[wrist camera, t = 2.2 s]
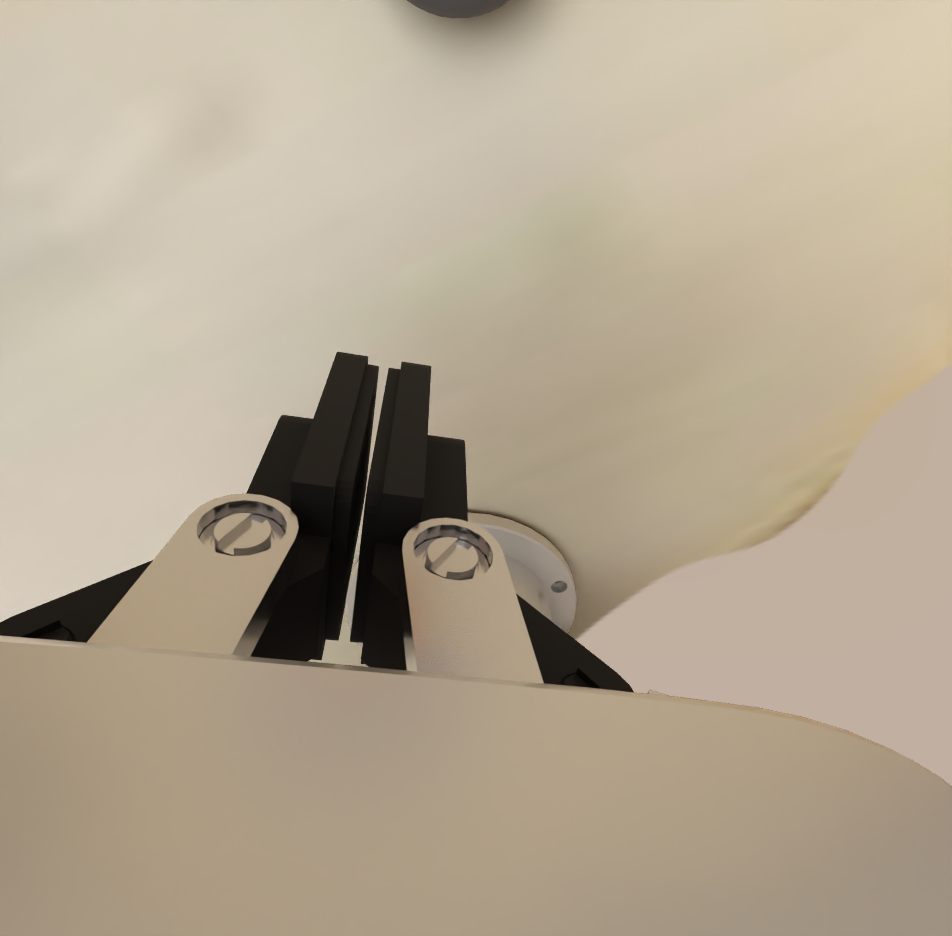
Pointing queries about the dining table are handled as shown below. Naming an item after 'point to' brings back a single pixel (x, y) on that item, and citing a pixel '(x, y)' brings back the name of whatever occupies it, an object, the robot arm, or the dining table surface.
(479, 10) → the dark grey ball
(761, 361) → the dining table surface
